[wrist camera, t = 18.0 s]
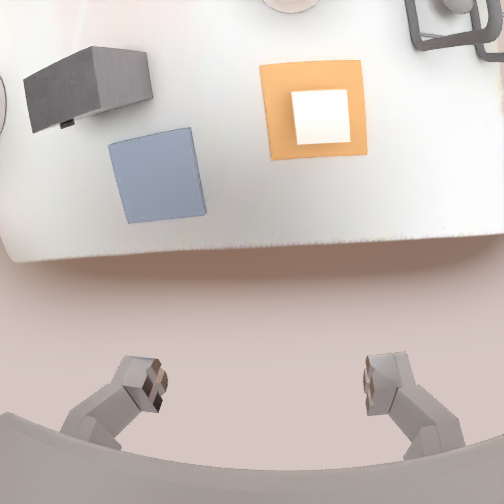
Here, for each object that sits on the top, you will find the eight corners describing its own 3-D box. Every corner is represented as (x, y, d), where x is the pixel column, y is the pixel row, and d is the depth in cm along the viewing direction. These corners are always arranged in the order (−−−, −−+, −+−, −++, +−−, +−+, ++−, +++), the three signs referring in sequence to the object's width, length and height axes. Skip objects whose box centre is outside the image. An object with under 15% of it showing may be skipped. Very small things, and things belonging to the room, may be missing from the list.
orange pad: (272, 158, 36) (271, 160, 36) (260, 66, 31) (259, 65, 30) (365, 153, 35) (367, 154, 34) (358, 60, 30) (360, 60, 29)
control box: (93, 119, 36) (34, 138, 25) (84, 70, 32) (22, 76, 22) (153, 102, 34) (102, 114, 24) (145, 49, 31) (90, 42, 20)
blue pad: (131, 220, 42) (128, 223, 41) (111, 143, 37) (107, 145, 36) (206, 212, 41) (204, 215, 40) (190, 127, 35) (187, 128, 35)
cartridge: (294, 131, 34) (296, 146, 26) (289, 90, 31) (290, 91, 24) (336, 128, 33) (351, 143, 25) (332, 87, 31) (347, 88, 23)
